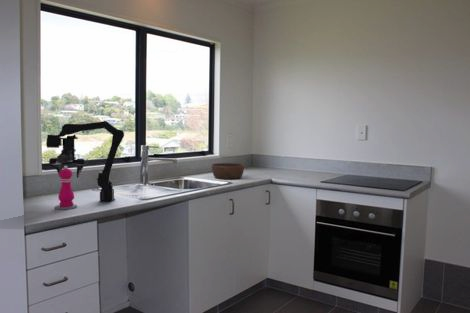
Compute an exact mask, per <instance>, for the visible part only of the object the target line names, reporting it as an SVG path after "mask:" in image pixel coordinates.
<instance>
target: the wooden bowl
mask: <svg viewBox="0 0 470 313" xmlns="http://www.w3.org/2000/svg"><path fill="white" fill-rule="evenodd" d="M211 169H212V174H213V177H214V178H215V179H218V180H238V178H239V179H241V178H242V177H243V175H244V169H245V164H242V163H233V162H219V163H212V164H211Z"/></svg>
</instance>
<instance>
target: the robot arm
mask: <svg viewBox="0 0 470 313" xmlns="http://www.w3.org/2000/svg"><path fill="white" fill-rule="evenodd" d="M100 129H105V130H106V131H107V132H108V133H110V134H111V135H112V136H111V138H112V139H111V146H110V149H109V152H108V155H107V157H106V161H105V163H104V167H103V170H102V171H99V172H98V177H97V178H96V182H97V185H98V187H100V192H99V202H109V203H110V202H114V201H115V200H116V198H115V189H114V188H113V186H114V183H112V181H110V176H111V170H112V166H113V165H114V161H115V158H116V154H117V151H118V148H119V146H120V145H121V142H122V141H123V139H124V136H125V132H124V131H123V130H122V129H121V128H116V127H115V126H114V125H112V124H111V123H110V122H109V121H107V120H103V121H96V122H89V123H64V124H63V125H62V126H61V131H59V133H58V134H47V135H46V136H47V137H46V141H45V142H46V143H45V144H46V147H47V149H50V148H52V149H53V148H55V149H57V148H58V149H59V148H60V147H62V149H61V151H60V152H61V153H60V154H59V155H57V156H56V157H52V158H51V157H50V158H49V159H48V164H49V165H51V166H53V167H54V168H55V169H56V171H57V173H58V175H59V172H60V171H61V170H62V169H63V164H70V163H71V164H76V165H75V166H76V178H80V175H81V172H82V170H83V168H84V166H87V165H88V164H89V159H88V158H87V157H84V158H83V157H80V158H77V157H76V154H75V152H76V148H75V140H78V139H79V137H78V136H77V135H76V134H77V133H79V132H84V131H85V132H86V131H93V130H94V131H95V130H100Z"/></svg>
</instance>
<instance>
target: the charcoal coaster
mask: <svg viewBox="0 0 470 313" xmlns="http://www.w3.org/2000/svg"><path fill="white" fill-rule="evenodd" d="M77 207H78V206H77V204H75V203H73V206H71V207H60V204H57V205H55V206H54V209H55V210H58V211H59V210H60V211H66V210H74V209H77Z"/></svg>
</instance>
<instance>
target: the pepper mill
mask: <svg viewBox="0 0 470 313" xmlns="http://www.w3.org/2000/svg"><path fill="white" fill-rule="evenodd" d="M58 176H59V178H60V179H59V180H60V183H61V186H60V190H59V193H58V197H57V198H58V200H59V205H60V207H71V206H73V204H74V202H73V201H74V199H75V194H74V191H73V188H72V186H71V185H72V184H71V182H72V177H73V171H72V170H71V169H69V168H68V165H64V166H63V168H62V170H61V171H60V172H59V174H58Z"/></svg>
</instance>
